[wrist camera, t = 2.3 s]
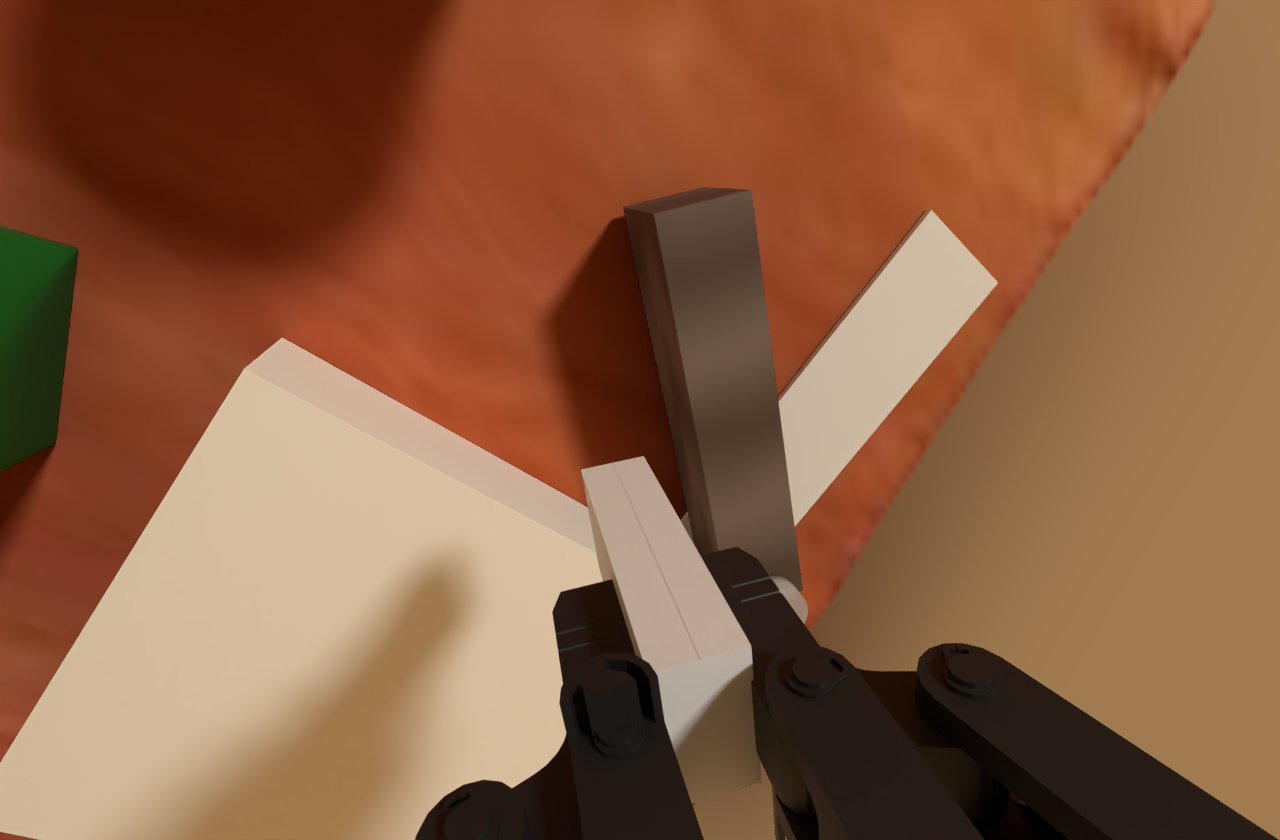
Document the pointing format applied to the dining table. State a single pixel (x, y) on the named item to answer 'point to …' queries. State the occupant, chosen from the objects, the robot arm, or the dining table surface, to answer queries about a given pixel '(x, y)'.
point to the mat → (875, 355)
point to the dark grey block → (718, 373)
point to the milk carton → (32, 340)
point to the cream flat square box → (310, 632)
